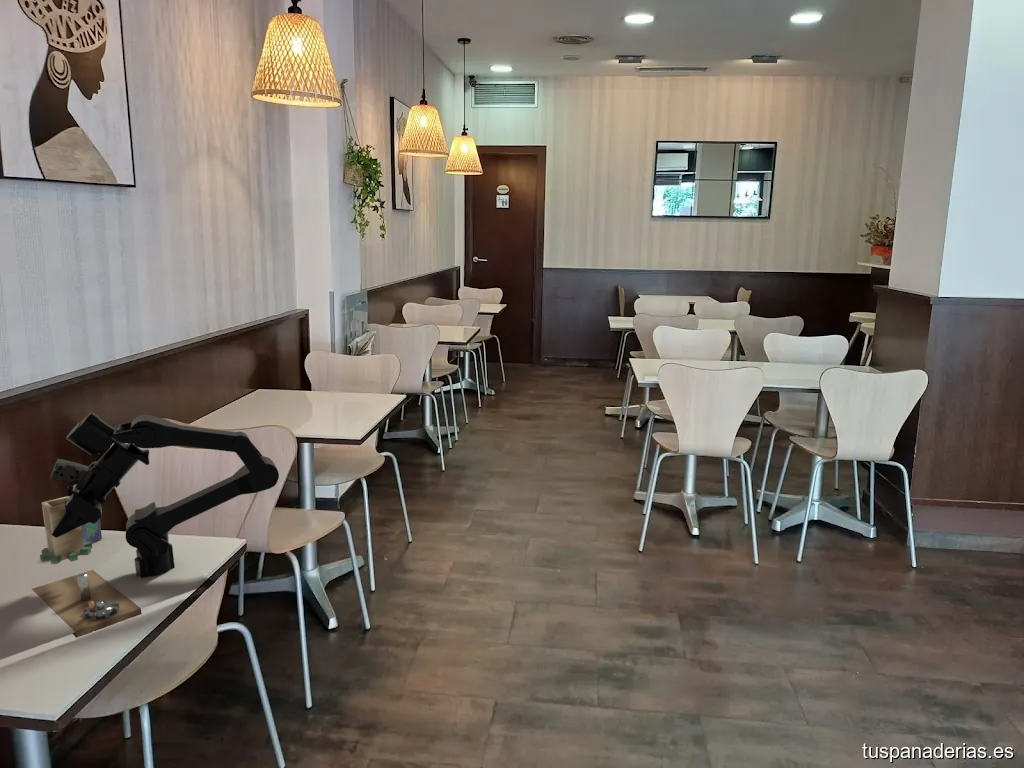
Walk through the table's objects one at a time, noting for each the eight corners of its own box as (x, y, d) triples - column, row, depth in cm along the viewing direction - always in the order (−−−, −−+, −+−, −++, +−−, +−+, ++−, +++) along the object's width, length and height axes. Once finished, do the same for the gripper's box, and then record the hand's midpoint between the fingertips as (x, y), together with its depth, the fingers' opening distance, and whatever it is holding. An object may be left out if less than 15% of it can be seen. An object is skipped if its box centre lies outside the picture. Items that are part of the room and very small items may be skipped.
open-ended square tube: (83, 541, 157) (76, 491, 155) (99, 553, 151) (92, 501, 149) (34, 555, 151) (26, 502, 149) (48, 568, 145) (41, 514, 143)
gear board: (93, 575, 160) (92, 569, 160) (141, 614, 143) (140, 608, 143) (32, 594, 152) (32, 588, 152) (76, 637, 135) (75, 631, 135)
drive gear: (112, 602, 146) (110, 588, 145) (124, 612, 142) (122, 598, 141) (78, 613, 142) (76, 600, 141) (90, 624, 138) (88, 610, 137)
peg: (89, 595, 148) (85, 572, 147) (92, 598, 147) (89, 574, 146) (79, 599, 147) (75, 575, 146) (82, 602, 146) (79, 578, 145)
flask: (85, 553, 171) (78, 508, 169) (71, 554, 171) (65, 509, 169) (105, 537, 180) (99, 494, 178) (92, 537, 180) (86, 495, 178)
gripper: (77, 433, 157) (21, 493, 154) (72, 457, 140) (11, 524, 138) (124, 464, 162) (71, 522, 159) (125, 490, 145) (66, 556, 143)
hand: (55, 530), depth 149 cm, fingers closed on open-ended square tube, 6 cm apart
